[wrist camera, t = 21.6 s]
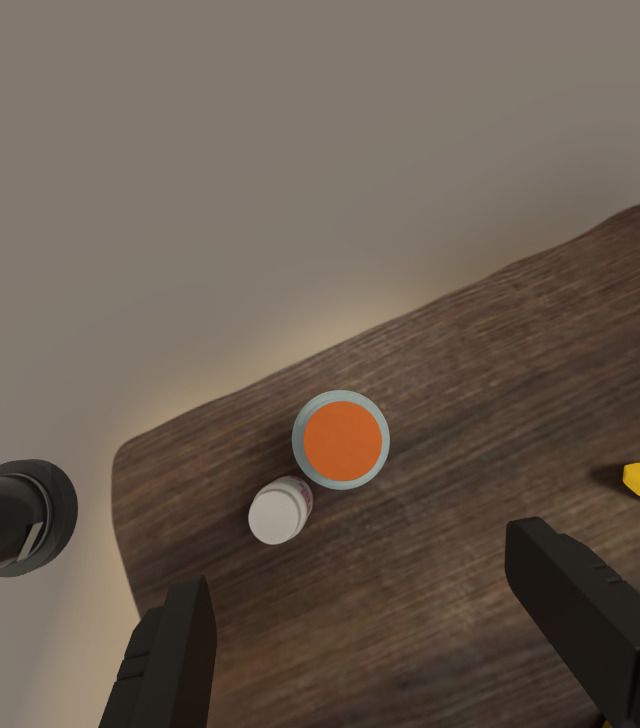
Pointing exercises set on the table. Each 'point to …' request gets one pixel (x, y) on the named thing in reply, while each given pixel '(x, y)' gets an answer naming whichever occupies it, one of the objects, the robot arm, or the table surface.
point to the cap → (342, 441)
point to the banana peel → (632, 477)
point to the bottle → (607, 725)
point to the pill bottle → (280, 509)
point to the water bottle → (303, 420)
